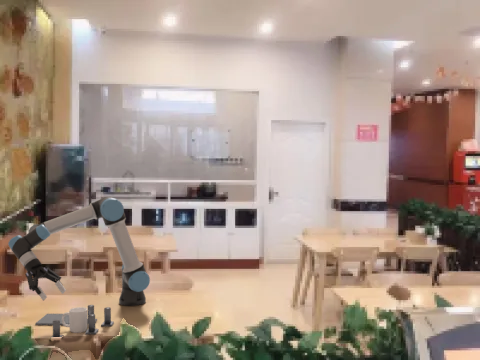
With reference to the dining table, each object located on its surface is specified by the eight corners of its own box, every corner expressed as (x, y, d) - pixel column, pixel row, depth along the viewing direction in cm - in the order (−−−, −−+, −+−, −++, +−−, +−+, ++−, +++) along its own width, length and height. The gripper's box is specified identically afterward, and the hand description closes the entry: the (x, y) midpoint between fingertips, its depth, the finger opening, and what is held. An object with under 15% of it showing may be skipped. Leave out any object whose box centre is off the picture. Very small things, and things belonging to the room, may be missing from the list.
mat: (84, 315, 272) (84, 313, 272) (75, 325, 256) (75, 323, 256) (47, 315, 272) (47, 313, 272) (35, 325, 256) (35, 323, 256)
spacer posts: (115, 320, 263) (115, 304, 263) (100, 341, 234) (100, 322, 233) (70, 320, 263) (70, 304, 263) (49, 340, 234) (48, 322, 234)
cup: (85, 332, 245) (85, 311, 245) (59, 333, 244) (59, 312, 243) (88, 327, 253) (88, 306, 253) (64, 327, 252) (63, 307, 252)
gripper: (44, 262, 269) (67, 294, 265) (7, 272, 246) (32, 306, 241) (52, 253, 267) (75, 284, 263) (16, 262, 244) (41, 296, 239)
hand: (55, 295), depth 252 cm, fingers open, 13 cm apart
